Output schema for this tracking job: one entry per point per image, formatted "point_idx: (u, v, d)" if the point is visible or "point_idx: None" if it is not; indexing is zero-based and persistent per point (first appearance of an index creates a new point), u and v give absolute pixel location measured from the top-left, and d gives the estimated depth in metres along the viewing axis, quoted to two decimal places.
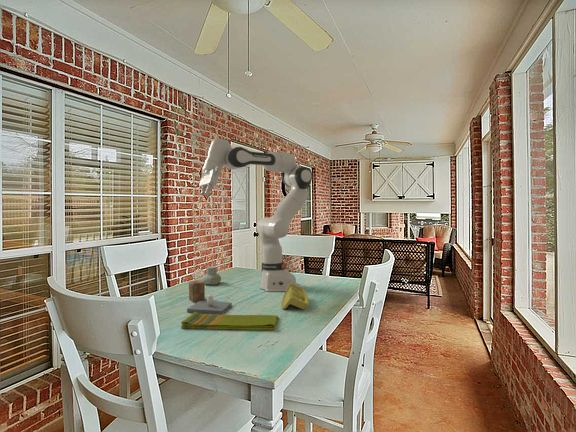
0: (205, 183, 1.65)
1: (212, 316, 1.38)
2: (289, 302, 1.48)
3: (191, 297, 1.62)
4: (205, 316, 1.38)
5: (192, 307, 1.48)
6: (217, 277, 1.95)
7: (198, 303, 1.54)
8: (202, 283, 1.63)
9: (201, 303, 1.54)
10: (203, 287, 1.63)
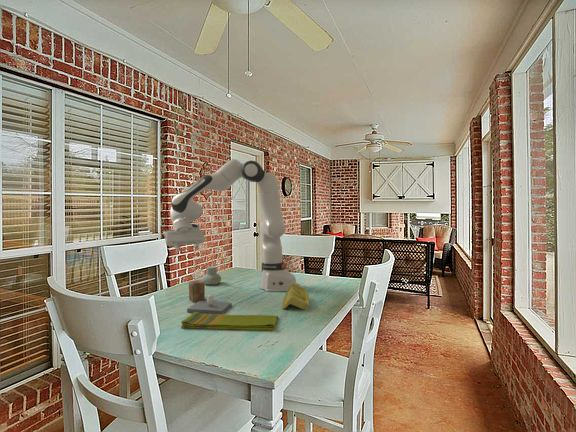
0: (180, 244, 1.76)
1: (212, 316, 1.39)
2: (289, 302, 1.48)
3: (191, 297, 1.62)
4: (205, 316, 1.38)
5: (192, 307, 1.48)
6: (217, 277, 1.95)
7: (198, 303, 1.54)
8: (202, 283, 1.63)
9: (201, 303, 1.54)
10: (203, 287, 1.63)
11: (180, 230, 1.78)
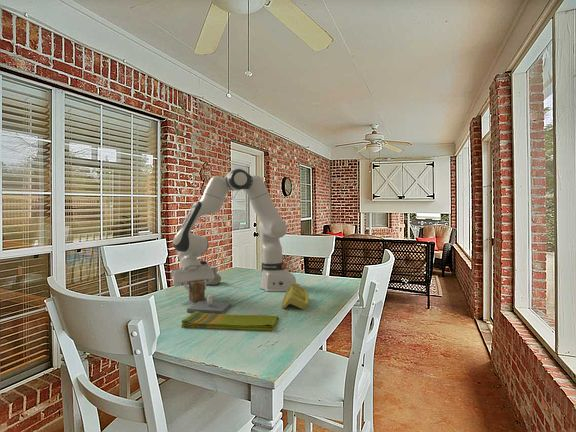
0: None
1: (213, 315, 1.39)
2: (288, 302, 1.49)
3: (191, 297, 1.62)
4: (206, 315, 1.39)
5: (192, 307, 1.48)
6: (217, 277, 1.95)
7: (198, 303, 1.54)
8: (202, 283, 1.63)
9: (201, 303, 1.54)
10: (203, 287, 1.63)
11: (188, 269, 1.67)
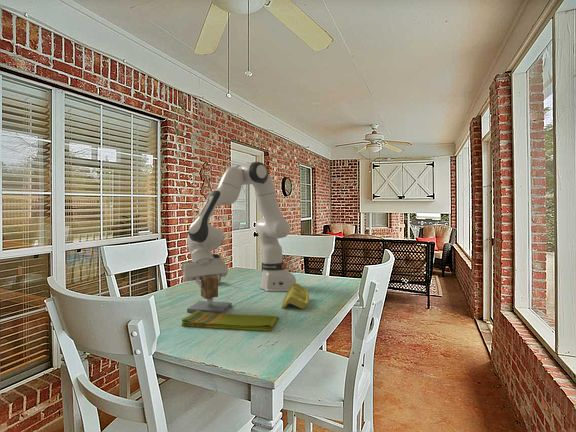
0: (200, 279, 1.52)
1: (214, 315, 1.40)
2: (288, 301, 1.49)
3: (203, 293, 1.48)
4: (207, 315, 1.40)
5: (192, 307, 1.48)
6: None
7: (198, 303, 1.54)
8: (215, 278, 1.49)
9: (201, 303, 1.54)
10: (216, 282, 1.49)
11: (200, 262, 1.53)
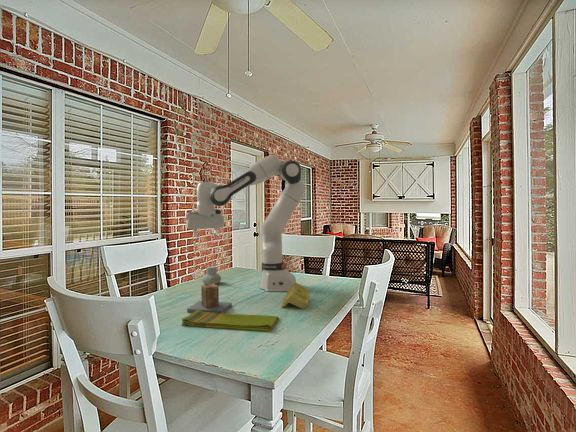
0: None
1: (214, 314, 1.40)
2: (288, 301, 1.50)
3: (204, 303, 1.48)
4: (207, 314, 1.40)
5: (192, 307, 1.48)
6: (217, 277, 1.95)
7: (198, 303, 1.54)
8: (216, 287, 1.49)
9: (201, 303, 1.54)
10: (217, 292, 1.49)
11: (203, 216, 1.78)
